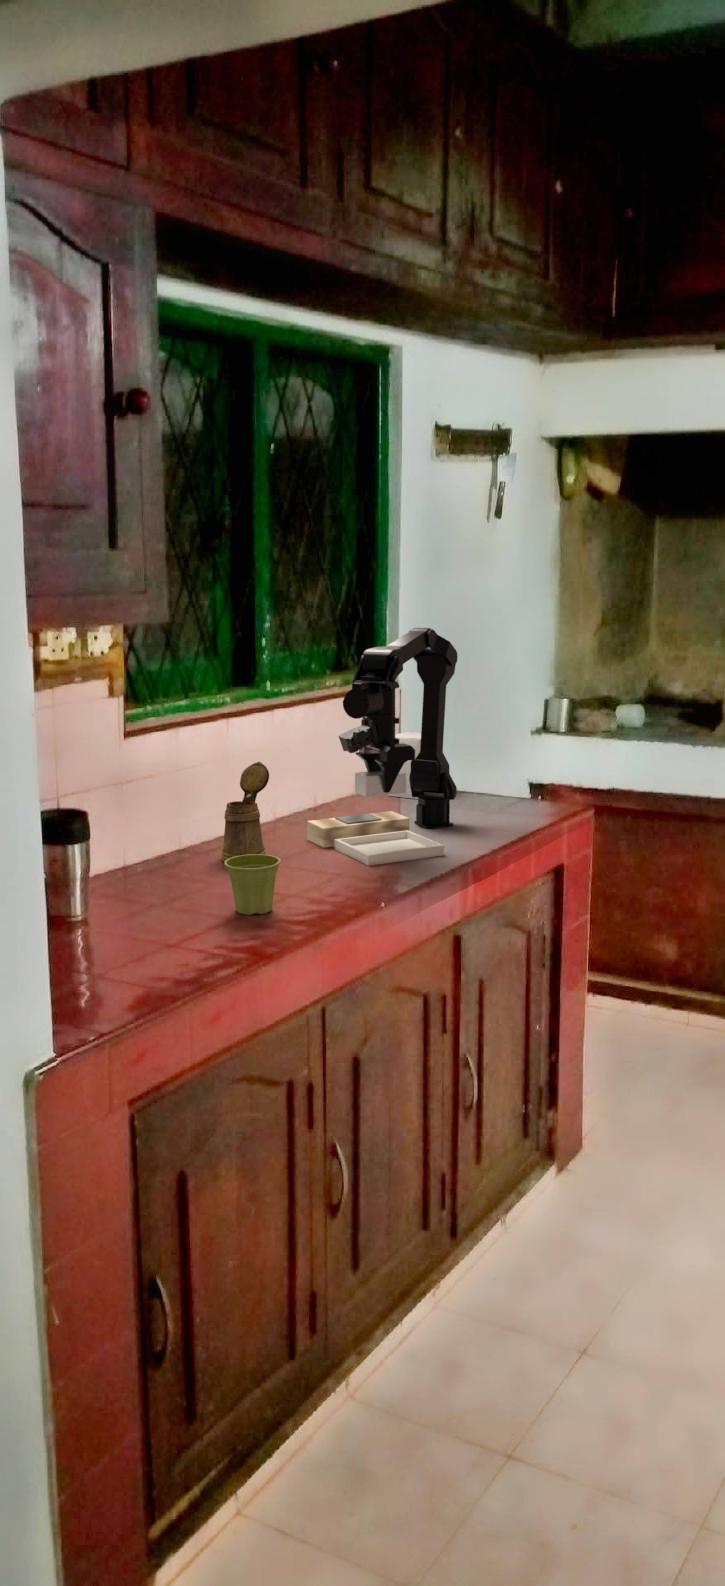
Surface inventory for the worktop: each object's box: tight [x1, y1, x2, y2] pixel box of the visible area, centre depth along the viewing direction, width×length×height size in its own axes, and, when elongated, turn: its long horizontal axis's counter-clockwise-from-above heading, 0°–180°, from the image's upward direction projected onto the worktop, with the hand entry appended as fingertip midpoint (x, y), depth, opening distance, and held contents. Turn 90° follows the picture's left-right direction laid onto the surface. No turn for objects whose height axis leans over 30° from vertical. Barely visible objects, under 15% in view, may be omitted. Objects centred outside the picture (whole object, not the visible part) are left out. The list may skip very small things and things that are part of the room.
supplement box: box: [388, 731, 421, 800], centre depth 304 cm, size 9×9×15 cm
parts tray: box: [333, 830, 445, 866], centre depth 250 cm, size 17×15×2 cm
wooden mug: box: [221, 761, 270, 863], centre depth 246 cm, size 9×14×18 cm, turn 161°
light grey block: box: [354, 771, 406, 797], centre depth 249 cm, size 9×5×4 cm, turn 116°
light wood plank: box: [306, 810, 410, 849], centre depth 261 cm, size 20×8×4 cm, turn 117°
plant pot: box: [224, 854, 282, 916], centre depth 210 cm, size 9×9×9 cm
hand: (380, 790), depth 250 cm, fingers closed on light grey block, 5 cm apart
